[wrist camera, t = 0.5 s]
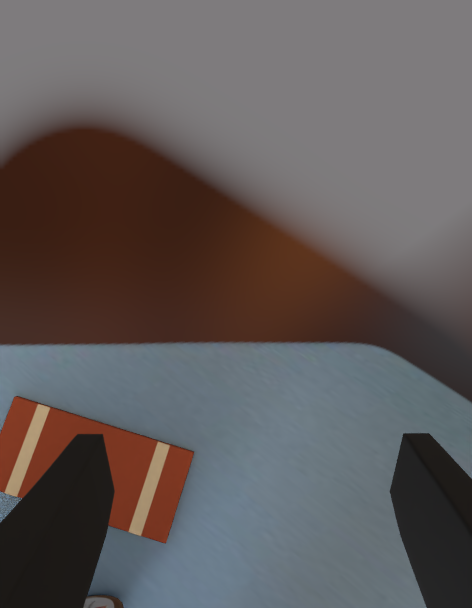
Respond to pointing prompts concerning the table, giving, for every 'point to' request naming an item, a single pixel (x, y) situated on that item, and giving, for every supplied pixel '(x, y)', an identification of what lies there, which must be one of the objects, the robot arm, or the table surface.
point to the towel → (121, 455)
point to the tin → (102, 602)
